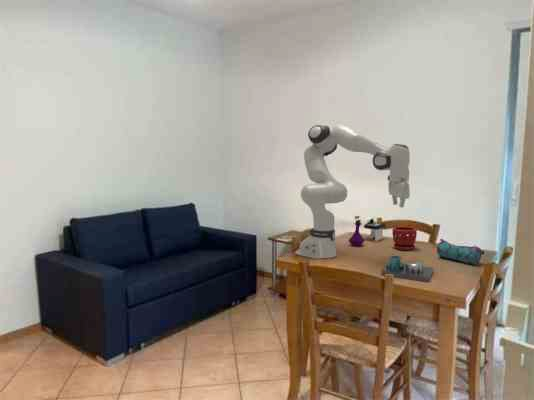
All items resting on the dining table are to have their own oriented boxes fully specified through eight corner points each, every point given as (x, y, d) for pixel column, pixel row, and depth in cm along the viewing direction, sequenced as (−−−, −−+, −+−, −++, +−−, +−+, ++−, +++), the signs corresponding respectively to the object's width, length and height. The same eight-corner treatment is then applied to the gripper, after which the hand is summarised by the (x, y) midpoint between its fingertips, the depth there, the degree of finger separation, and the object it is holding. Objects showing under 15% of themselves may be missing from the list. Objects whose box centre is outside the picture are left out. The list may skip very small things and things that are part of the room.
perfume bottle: (353, 243, 241) (353, 214, 238) (364, 245, 236) (365, 215, 234) (348, 245, 235) (348, 215, 232) (360, 247, 230) (360, 217, 228)
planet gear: (384, 268, 182) (384, 257, 182) (388, 264, 189) (388, 254, 188) (401, 270, 178) (402, 260, 178) (405, 266, 185) (405, 256, 184)
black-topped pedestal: (363, 233, 270) (364, 214, 269) (401, 239, 254) (402, 218, 252) (343, 241, 249) (344, 220, 247) (383, 247, 232) (384, 225, 231)
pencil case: (483, 263, 196) (484, 244, 195) (475, 267, 191) (476, 247, 190) (443, 255, 212) (444, 237, 211) (434, 258, 207) (435, 240, 206)
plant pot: (420, 249, 226) (421, 228, 224) (406, 252, 219) (407, 231, 217) (401, 244, 237) (402, 225, 235) (387, 247, 229) (387, 227, 228)
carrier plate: (381, 274, 179) (381, 262, 178) (389, 266, 193) (389, 254, 192) (428, 282, 169) (428, 268, 168) (433, 272, 183) (433, 259, 182)
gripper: (413, 179, 181) (412, 208, 183) (398, 176, 202) (397, 203, 203) (400, 179, 181) (398, 209, 183) (386, 176, 202) (385, 203, 203)
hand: (398, 205), depth 193 cm, fingers open, 8 cm apart
